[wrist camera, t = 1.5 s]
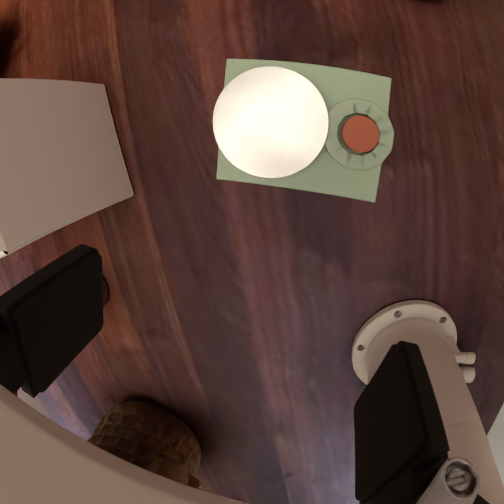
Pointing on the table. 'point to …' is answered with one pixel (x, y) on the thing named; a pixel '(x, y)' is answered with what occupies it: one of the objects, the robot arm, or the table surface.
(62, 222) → the cardboard gift box
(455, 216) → the table surface
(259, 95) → the scale plate
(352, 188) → the scale
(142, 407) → the ceramic vessel
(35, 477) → the robot arm
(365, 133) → the button
